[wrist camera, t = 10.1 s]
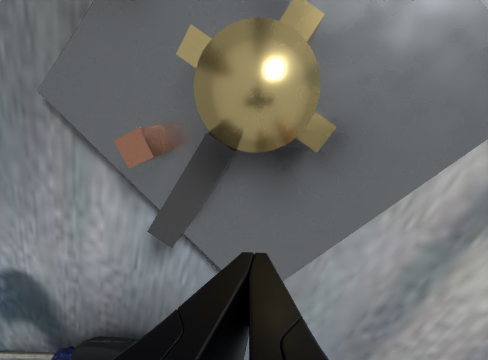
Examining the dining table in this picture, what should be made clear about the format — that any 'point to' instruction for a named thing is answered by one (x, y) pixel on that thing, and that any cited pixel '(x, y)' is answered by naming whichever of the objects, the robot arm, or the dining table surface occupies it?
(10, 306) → the dining table surface
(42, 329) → the dining table surface
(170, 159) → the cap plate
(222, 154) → the gold lugged knob
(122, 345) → the screwdriver
